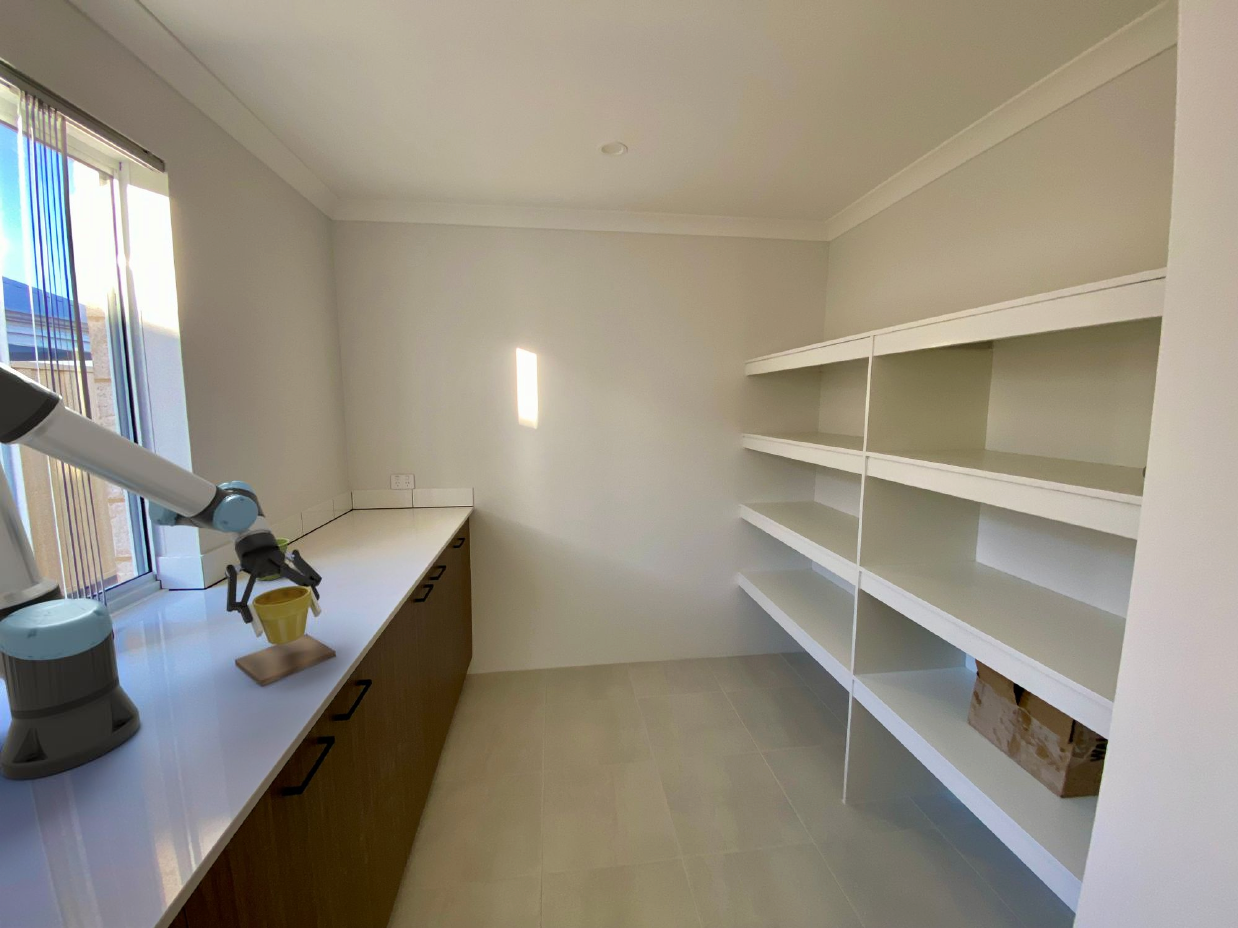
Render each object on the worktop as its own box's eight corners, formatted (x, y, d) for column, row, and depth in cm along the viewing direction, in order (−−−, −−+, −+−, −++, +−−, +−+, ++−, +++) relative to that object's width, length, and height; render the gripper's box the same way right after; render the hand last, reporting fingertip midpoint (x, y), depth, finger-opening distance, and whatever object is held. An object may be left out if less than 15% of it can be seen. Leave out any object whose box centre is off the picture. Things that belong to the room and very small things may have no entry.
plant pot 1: (269, 569, 162) (266, 537, 161) (301, 571, 160) (298, 538, 159) (237, 582, 150) (233, 548, 149) (271, 584, 149) (267, 549, 147)
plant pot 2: (285, 651, 99) (281, 606, 97) (244, 646, 101) (239, 602, 100) (325, 628, 109) (321, 587, 108) (287, 624, 111) (283, 583, 110)
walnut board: (261, 686, 95) (260, 680, 95) (235, 664, 103) (234, 659, 103) (335, 655, 107) (335, 650, 107) (306, 638, 115) (306, 633, 114)
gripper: (305, 538, 121) (341, 612, 114) (186, 563, 102) (221, 654, 95) (312, 520, 117) (350, 596, 110) (191, 543, 98) (228, 636, 91)
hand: (290, 623), depth 103 cm, fingers closed on plant pot 2, 10 cm apart
